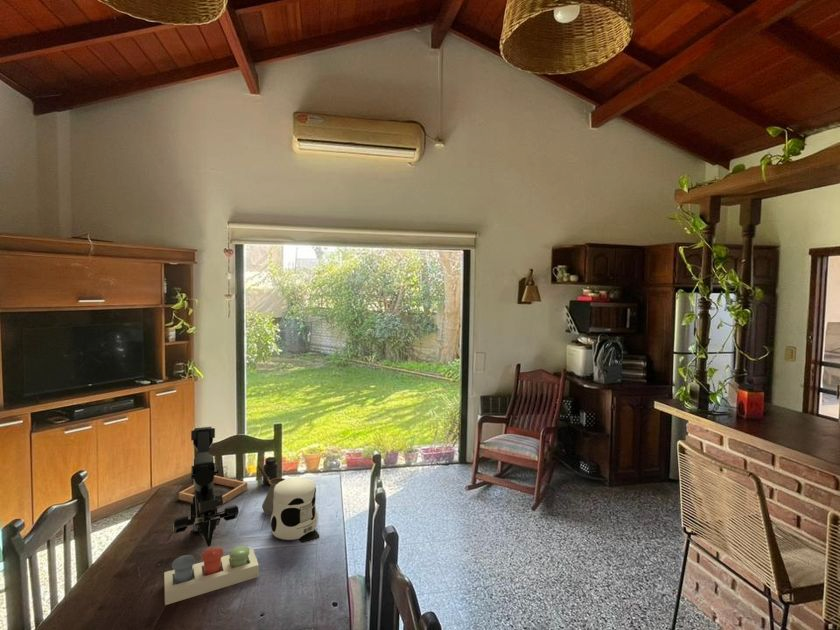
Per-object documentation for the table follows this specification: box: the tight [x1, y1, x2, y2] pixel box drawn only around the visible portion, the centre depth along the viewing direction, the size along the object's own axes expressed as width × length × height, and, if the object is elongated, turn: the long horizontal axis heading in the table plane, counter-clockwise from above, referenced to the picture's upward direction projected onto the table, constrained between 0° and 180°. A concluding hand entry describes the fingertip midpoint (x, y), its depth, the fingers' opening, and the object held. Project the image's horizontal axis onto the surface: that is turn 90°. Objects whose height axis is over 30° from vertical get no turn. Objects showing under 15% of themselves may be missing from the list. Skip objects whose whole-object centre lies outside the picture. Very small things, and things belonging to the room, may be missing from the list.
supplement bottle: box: [262, 456, 279, 487], centre depth 204 cm, size 7×7×12 cm
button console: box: [163, 548, 260, 606], centre depth 136 cm, size 10×26×4 cm, turn 121°
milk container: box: [270, 477, 319, 542], centre depth 164 cm, size 17×17×18 cm
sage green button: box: [229, 545, 250, 569], centre depth 140 cm, size 6×6×6 cm
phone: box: [298, 529, 320, 544], centre depth 166 cm, size 7×1×15 cm
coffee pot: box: [255, 465, 286, 517], centre depth 182 cm, size 21×12×15 cm, turn 49°
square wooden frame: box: [178, 475, 248, 508], centre depth 192 cm, size 20×19×3 cm
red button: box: [201, 547, 224, 576], centre depth 136 cm, size 6×6×6 cm
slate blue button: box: [171, 554, 196, 584], centre depth 132 cm, size 6×6×6 cm
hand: (209, 546), depth 135 cm, fingers closed
